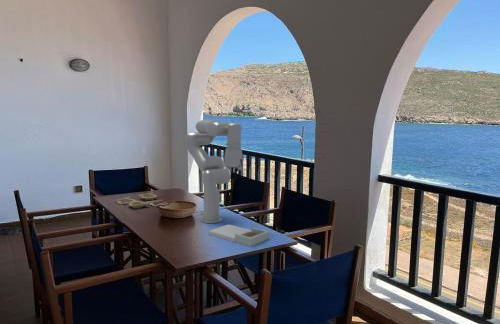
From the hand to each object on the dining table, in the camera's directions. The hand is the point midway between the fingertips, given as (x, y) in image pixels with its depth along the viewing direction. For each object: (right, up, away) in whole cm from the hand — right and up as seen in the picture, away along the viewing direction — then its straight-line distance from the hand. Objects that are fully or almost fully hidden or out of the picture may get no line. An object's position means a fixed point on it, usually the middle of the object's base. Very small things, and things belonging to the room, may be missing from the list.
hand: (233, 179), depth 206 cm
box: (+10, -31, -12) cm, 35 cm away
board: (-1, -30, -3) cm, 30 cm away
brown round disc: (+9, -31, -11) cm, 34 cm away
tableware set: (-67, -21, +61) cm, 93 cm away
